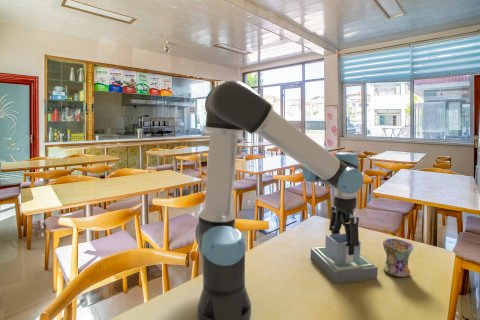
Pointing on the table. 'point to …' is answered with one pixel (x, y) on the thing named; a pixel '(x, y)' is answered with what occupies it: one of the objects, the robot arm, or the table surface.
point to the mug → (397, 257)
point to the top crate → (345, 266)
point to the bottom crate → (345, 274)
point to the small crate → (339, 248)
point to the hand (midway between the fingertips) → (341, 256)
